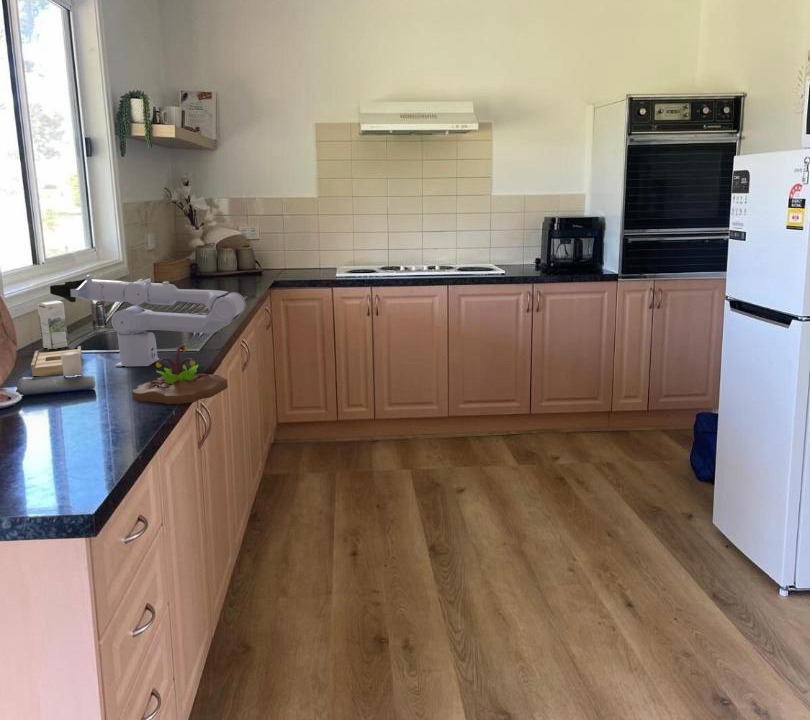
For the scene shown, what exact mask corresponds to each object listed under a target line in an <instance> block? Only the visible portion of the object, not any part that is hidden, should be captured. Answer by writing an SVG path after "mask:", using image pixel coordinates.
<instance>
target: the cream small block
mask: <svg viewBox="0 0 810 720" xmlns="http://www.w3.org/2000/svg"><path fill="white" fill-rule="evenodd" d="M61 361H62V368H63V374H62V375H63V377H64V376H75V375H83V376H84V373H83V365H82V366H81V358H80V353H79V352H69V353H64V354H61Z"/></svg>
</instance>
